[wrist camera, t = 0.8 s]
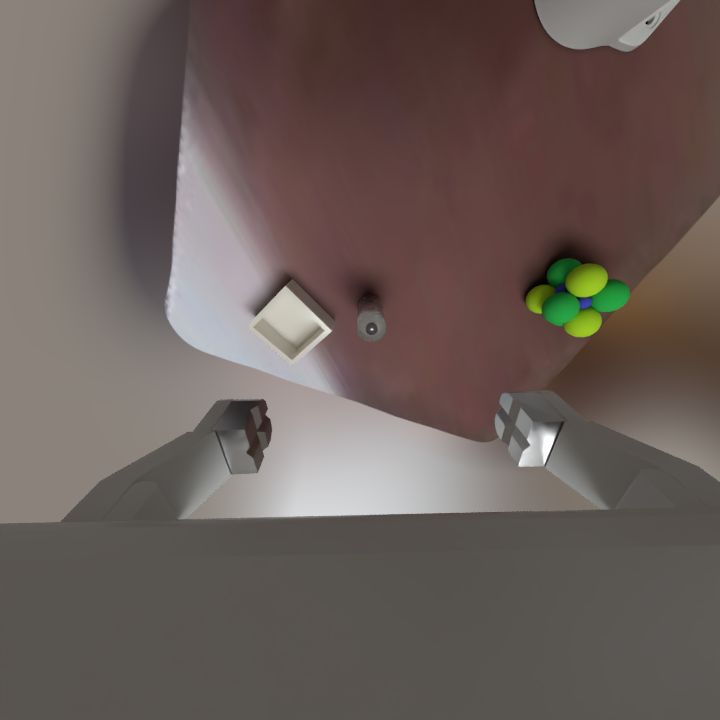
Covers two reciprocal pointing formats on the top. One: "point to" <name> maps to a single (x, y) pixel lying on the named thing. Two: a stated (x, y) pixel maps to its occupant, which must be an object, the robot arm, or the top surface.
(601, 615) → the robot arm
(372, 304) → the cylinder
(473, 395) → the top surface
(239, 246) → the top surface
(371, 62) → the top surface
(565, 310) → the molecule model
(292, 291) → the cream square tray
